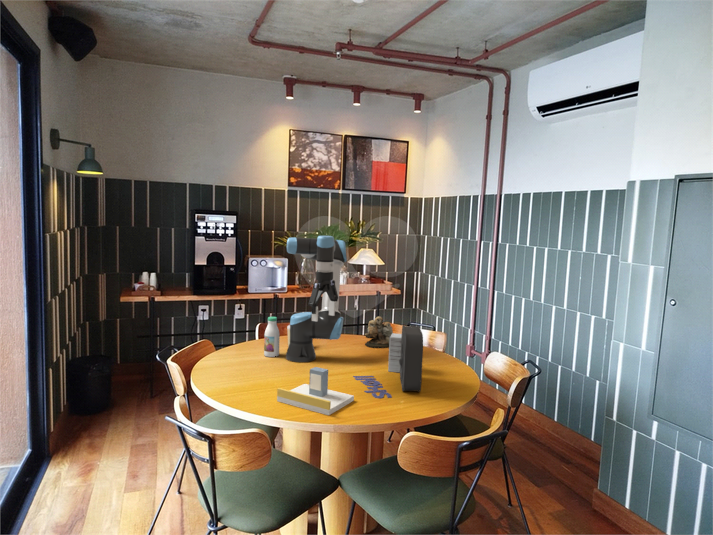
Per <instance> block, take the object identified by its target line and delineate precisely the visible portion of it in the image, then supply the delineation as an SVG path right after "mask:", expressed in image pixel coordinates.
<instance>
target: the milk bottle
mask: <svg viewBox="0 0 713 535" xmlns="http://www.w3.org/2000/svg"><path fill="white" fill-rule="evenodd" d="M277 320H278V317H277V316H268V317H267V326H266V328H265V331H264V339H263V341H264V343H263V344H264V346H263V355H264V356H265V357H266V358H275V356H276V357H279V356H280V340H281V339H280V330H279V327H278V325H277V324H278V323H277Z"/></svg>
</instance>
